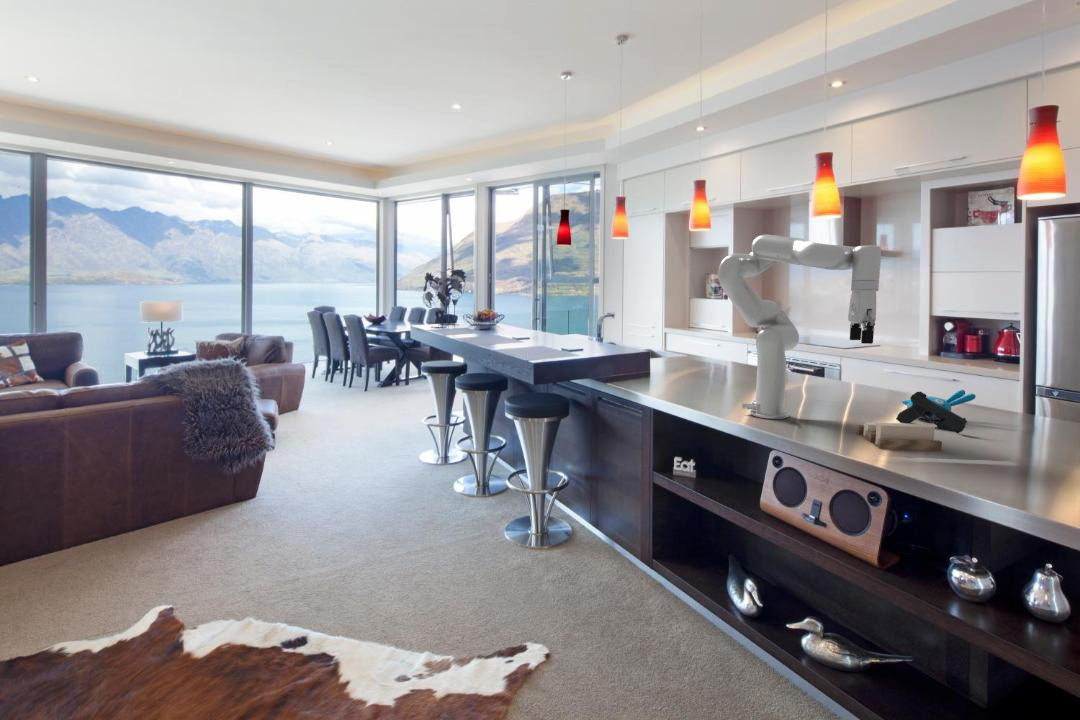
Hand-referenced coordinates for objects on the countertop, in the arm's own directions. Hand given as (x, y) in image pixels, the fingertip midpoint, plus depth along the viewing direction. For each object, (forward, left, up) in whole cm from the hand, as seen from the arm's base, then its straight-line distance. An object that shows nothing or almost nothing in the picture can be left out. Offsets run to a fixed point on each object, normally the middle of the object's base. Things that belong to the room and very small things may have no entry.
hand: (860, 341), depth 190 cm
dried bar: (+6, -11, -27) cm, 30 cm away
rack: (+6, -16, -28) cm, 33 cm away
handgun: (+24, +4, -29) cm, 38 cm away
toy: (+33, +19, -28) cm, 48 cm away
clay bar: (+6, -20, -27) cm, 35 cm away
